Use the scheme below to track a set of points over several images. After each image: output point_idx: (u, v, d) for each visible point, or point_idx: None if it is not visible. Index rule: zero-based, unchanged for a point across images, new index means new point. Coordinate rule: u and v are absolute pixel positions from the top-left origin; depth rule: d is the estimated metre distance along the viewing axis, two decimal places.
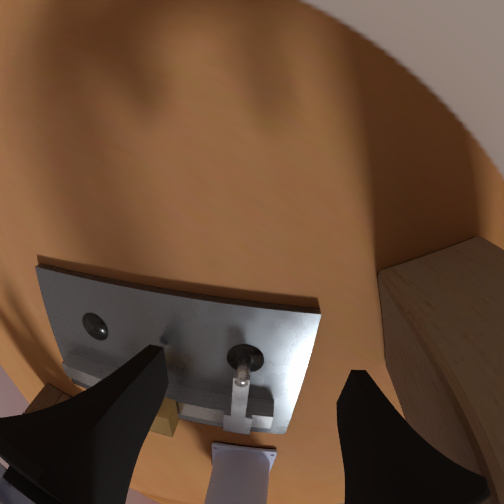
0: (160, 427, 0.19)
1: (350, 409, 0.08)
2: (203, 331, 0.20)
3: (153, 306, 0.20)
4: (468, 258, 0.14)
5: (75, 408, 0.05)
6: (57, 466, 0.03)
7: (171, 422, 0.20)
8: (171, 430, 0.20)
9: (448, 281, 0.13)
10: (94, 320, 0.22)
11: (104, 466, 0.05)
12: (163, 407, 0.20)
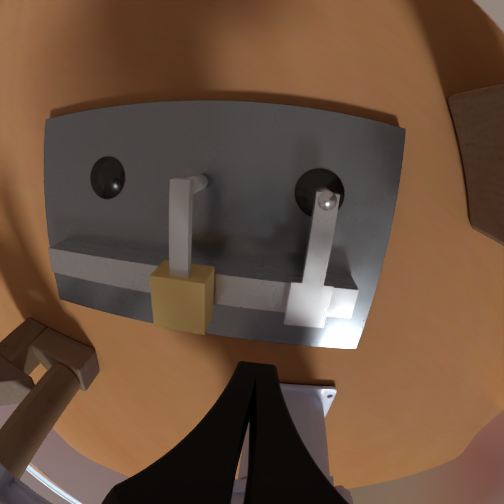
0: (186, 313, 0.14)
1: (252, 404, 0.08)
2: (266, 149, 0.15)
3: (200, 120, 0.15)
4: None
5: (201, 450, 0.05)
6: None
7: (206, 300, 0.14)
8: (204, 318, 0.14)
9: None
10: (108, 166, 0.16)
11: None
12: (195, 272, 0.15)
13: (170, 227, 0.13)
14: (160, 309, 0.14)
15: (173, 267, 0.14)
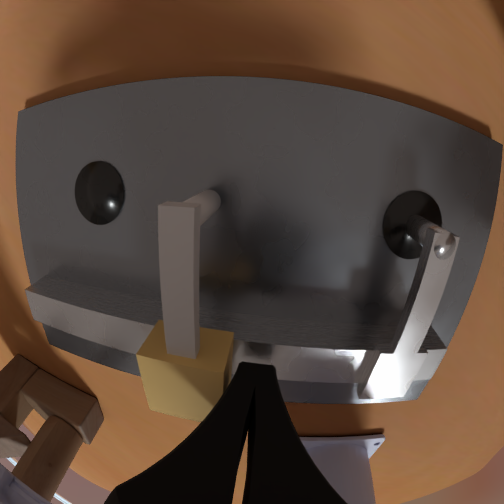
0: (196, 402, 0.09)
1: (251, 404, 0.08)
2: (348, 158, 0.10)
3: (246, 107, 0.09)
4: None
5: (202, 450, 0.05)
6: None
7: (225, 386, 0.09)
8: None
9: None
10: (99, 176, 0.11)
11: (231, 502, 0.05)
12: (207, 346, 0.09)
13: (163, 287, 0.08)
14: (156, 394, 0.09)
15: (172, 344, 0.08)
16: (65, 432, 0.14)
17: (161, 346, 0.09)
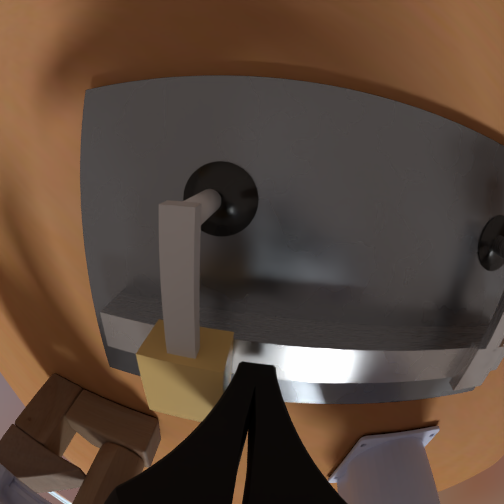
0: (196, 402, 0.09)
1: (251, 404, 0.08)
2: (464, 187, 0.09)
3: (395, 130, 0.09)
4: None
5: (202, 450, 0.05)
6: None
7: (225, 386, 0.09)
8: None
9: None
10: (223, 179, 0.10)
11: (231, 502, 0.05)
12: (207, 346, 0.09)
13: (163, 286, 0.08)
14: (156, 394, 0.09)
15: (172, 343, 0.08)
16: (128, 460, 0.13)
17: (161, 346, 0.09)
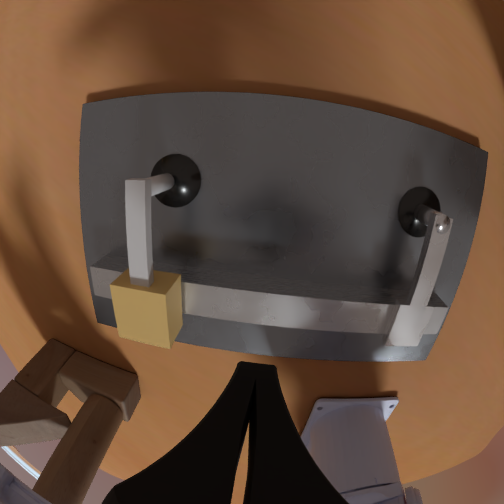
0: (150, 325, 0.13)
1: (252, 404, 0.08)
2: (374, 162, 0.13)
3: (304, 121, 0.13)
4: None
5: (201, 450, 0.05)
6: None
7: (170, 312, 0.13)
8: (169, 331, 0.13)
9: None
10: (177, 166, 0.14)
11: (230, 501, 0.05)
12: (159, 281, 0.13)
13: (127, 232, 0.11)
14: (123, 319, 0.13)
15: (133, 276, 0.12)
16: (108, 408, 0.17)
17: (127, 280, 0.13)
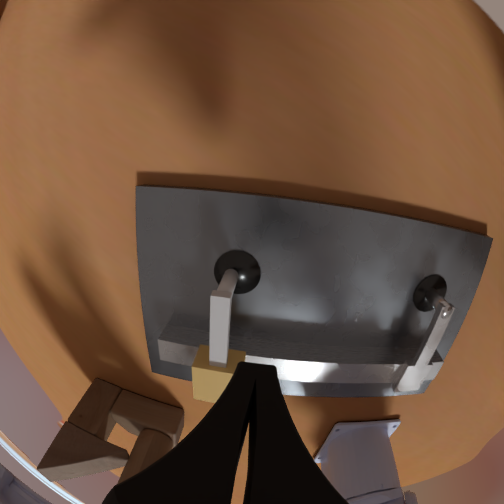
0: None
1: (252, 404, 0.08)
2: (401, 260, 0.16)
3: (350, 229, 0.16)
4: None
5: (201, 450, 0.05)
6: None
7: None
8: None
9: None
10: (239, 261, 0.17)
11: None
12: (231, 360, 0.16)
13: (211, 332, 0.14)
14: (200, 388, 0.16)
15: (213, 360, 0.15)
16: (163, 441, 0.20)
17: (205, 361, 0.16)
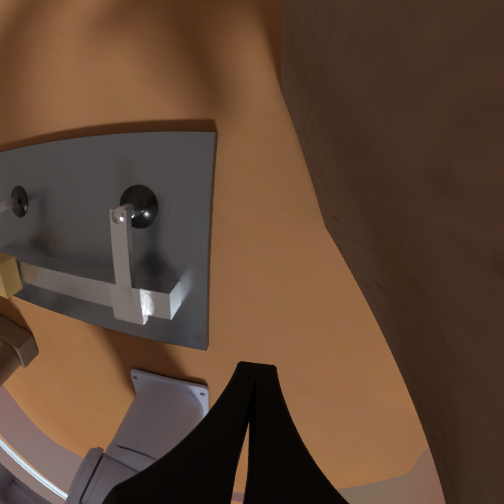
0: None
1: (252, 404, 0.08)
2: (98, 174, 0.17)
3: (61, 156, 0.16)
4: None
5: (201, 450, 0.05)
6: None
7: (5, 276, 0.16)
8: (5, 287, 0.16)
9: None
10: (18, 193, 0.18)
11: None
12: (3, 259, 0.17)
13: None
14: None
15: None
16: (8, 352, 0.21)
17: None
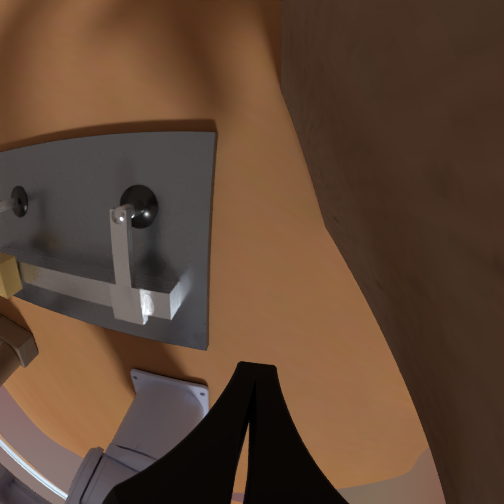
0: None
1: (252, 404, 0.08)
2: (98, 174, 0.17)
3: (61, 156, 0.16)
4: None
5: (201, 450, 0.05)
6: None
7: (5, 276, 0.16)
8: (5, 287, 0.16)
9: None
10: (18, 193, 0.18)
11: None
12: (3, 259, 0.17)
13: None
14: None
15: None
16: (8, 352, 0.21)
17: None
